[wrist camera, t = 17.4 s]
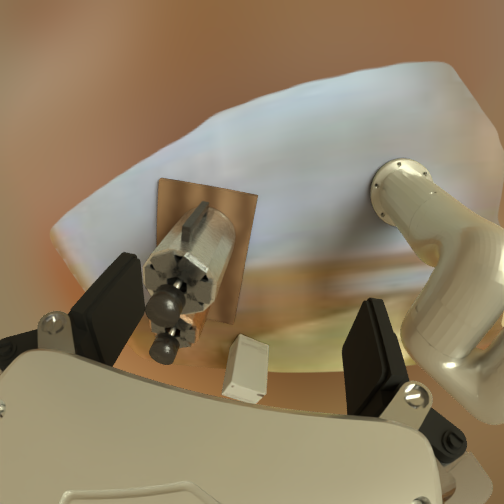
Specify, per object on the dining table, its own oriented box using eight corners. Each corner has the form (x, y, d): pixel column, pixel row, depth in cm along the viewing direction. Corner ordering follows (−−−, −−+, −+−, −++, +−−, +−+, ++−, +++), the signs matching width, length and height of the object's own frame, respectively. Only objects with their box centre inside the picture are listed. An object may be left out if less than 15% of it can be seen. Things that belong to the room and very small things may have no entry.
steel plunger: (224, 229, 49) (191, 298, 33) (219, 267, 53) (189, 342, 37) (181, 220, 49) (131, 283, 33) (178, 258, 53) (136, 327, 37)
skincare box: (230, 345, 70) (218, 394, 57) (240, 331, 67) (229, 382, 54) (260, 358, 71) (253, 407, 58) (271, 344, 68) (266, 395, 55)
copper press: (215, 277, 59) (199, 319, 48) (210, 319, 65) (196, 361, 54) (170, 267, 59) (146, 305, 48) (170, 309, 65) (150, 349, 54)
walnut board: (258, 195, 51) (257, 197, 50) (234, 321, 66) (233, 324, 65) (161, 177, 51) (158, 179, 50) (159, 303, 66) (157, 306, 65)
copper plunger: (202, 292, 57) (179, 349, 44) (200, 316, 60) (179, 372, 47) (171, 285, 57) (142, 338, 44) (171, 309, 60) (145, 362, 47)
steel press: (241, 200, 51) (221, 245, 36) (231, 265, 57) (211, 323, 43) (181, 189, 51) (139, 228, 36) (177, 253, 57) (143, 305, 43)
